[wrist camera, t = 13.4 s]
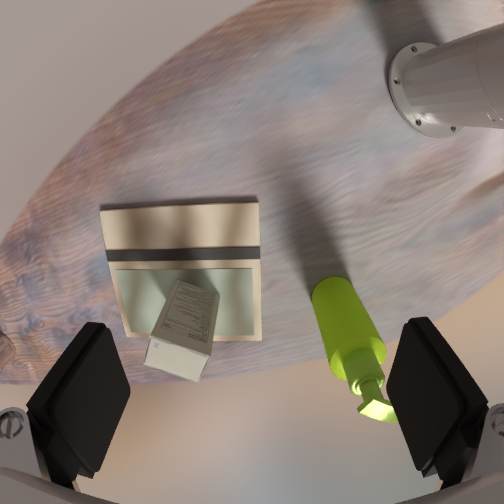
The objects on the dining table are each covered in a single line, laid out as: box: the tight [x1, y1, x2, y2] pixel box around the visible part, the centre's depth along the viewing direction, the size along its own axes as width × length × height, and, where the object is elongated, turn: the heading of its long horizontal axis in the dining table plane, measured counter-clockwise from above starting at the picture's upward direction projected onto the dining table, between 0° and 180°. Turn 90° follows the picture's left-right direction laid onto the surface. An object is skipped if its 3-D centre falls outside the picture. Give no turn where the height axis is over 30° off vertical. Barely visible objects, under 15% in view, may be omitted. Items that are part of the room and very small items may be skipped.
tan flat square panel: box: [100, 202, 262, 341], centre depth 39 cm, size 20×19×1 cm
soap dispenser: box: [312, 277, 398, 422], centre depth 31 cm, size 6×7×20 cm
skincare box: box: [143, 280, 220, 383], centre depth 34 cm, size 6×4×12 cm
